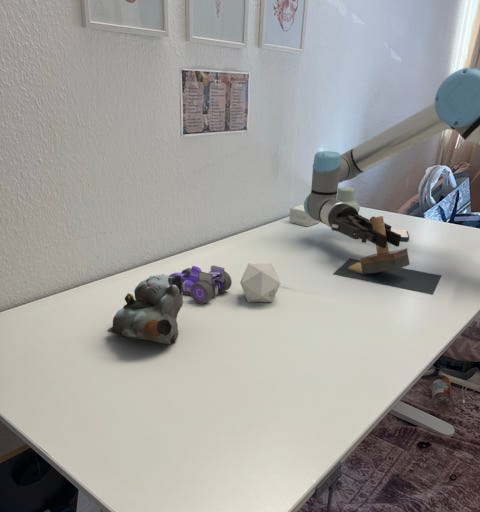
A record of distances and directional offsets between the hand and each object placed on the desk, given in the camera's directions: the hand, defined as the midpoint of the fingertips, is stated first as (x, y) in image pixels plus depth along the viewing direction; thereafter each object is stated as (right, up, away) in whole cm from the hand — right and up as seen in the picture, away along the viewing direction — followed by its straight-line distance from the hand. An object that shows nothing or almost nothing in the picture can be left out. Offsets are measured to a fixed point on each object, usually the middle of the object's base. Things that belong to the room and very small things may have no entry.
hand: (391, 241), depth 113 cm
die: (-32, -14, -5) cm, 35 cm away
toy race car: (-47, -12, -2) cm, 48 cm away
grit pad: (-5, -5, +10) cm, 13 cm away
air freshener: (+1, +19, +60) cm, 63 cm away
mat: (+1, -8, +8) cm, 11 cm away
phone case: (+10, +8, +40) cm, 42 cm away
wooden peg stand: (0, -6, +5) cm, 8 cm away
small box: (-14, +15, +52) cm, 56 cm away
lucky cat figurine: (-54, -22, -21) cm, 61 cm away
